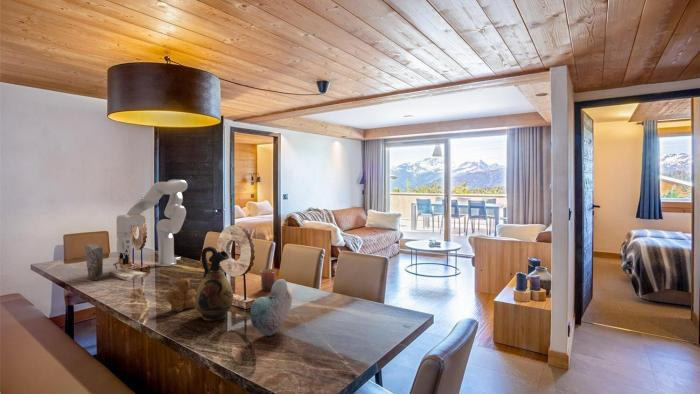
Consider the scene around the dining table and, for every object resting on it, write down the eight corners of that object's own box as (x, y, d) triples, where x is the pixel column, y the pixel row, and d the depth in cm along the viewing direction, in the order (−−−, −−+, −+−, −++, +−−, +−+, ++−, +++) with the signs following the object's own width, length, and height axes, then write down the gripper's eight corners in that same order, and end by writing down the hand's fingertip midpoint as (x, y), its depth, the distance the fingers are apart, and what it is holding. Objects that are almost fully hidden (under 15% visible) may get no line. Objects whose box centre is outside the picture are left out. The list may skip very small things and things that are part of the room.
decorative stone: (262, 347, 125) (261, 290, 125) (243, 341, 130) (242, 287, 129) (298, 326, 144) (298, 277, 143) (280, 322, 148) (280, 274, 147)
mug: (272, 292, 188) (272, 273, 187) (256, 291, 189) (256, 272, 189) (281, 286, 199) (281, 267, 199) (266, 285, 201) (266, 267, 201)
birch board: (127, 271, 232) (127, 268, 232) (146, 276, 220) (146, 272, 220) (109, 275, 222) (108, 271, 222) (126, 280, 211) (126, 276, 210)
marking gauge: (128, 264, 231) (126, 256, 229) (132, 265, 228) (129, 256, 227) (114, 271, 223) (111, 262, 222) (117, 271, 221) (114, 263, 220)
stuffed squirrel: (201, 304, 170) (201, 276, 169) (181, 315, 156) (180, 285, 156) (183, 302, 172) (182, 275, 172) (161, 313, 158) (161, 283, 158)
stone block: (84, 278, 216) (83, 244, 215) (97, 275, 221) (97, 243, 220) (92, 281, 208) (92, 247, 207) (106, 279, 213) (105, 245, 213)
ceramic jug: (240, 311, 160) (239, 245, 159) (220, 325, 145) (219, 251, 144) (206, 308, 164) (205, 243, 162) (183, 321, 149) (182, 249, 147)
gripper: (136, 235, 224) (136, 264, 225) (123, 233, 233) (123, 261, 234) (123, 236, 218) (124, 266, 219) (110, 234, 227) (110, 263, 228)
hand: (123, 263), depth 226 cm, fingers closed on marking gauge, 3 cm apart
